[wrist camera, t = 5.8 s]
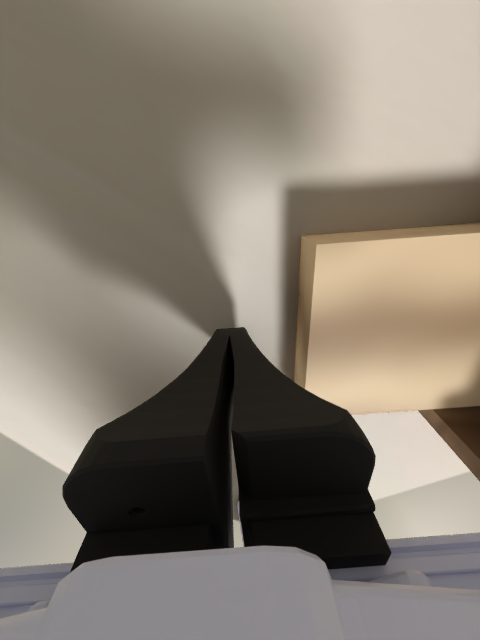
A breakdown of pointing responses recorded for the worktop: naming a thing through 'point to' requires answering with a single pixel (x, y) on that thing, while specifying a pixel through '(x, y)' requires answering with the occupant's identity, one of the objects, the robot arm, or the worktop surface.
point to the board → (390, 318)
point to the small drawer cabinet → (459, 432)
